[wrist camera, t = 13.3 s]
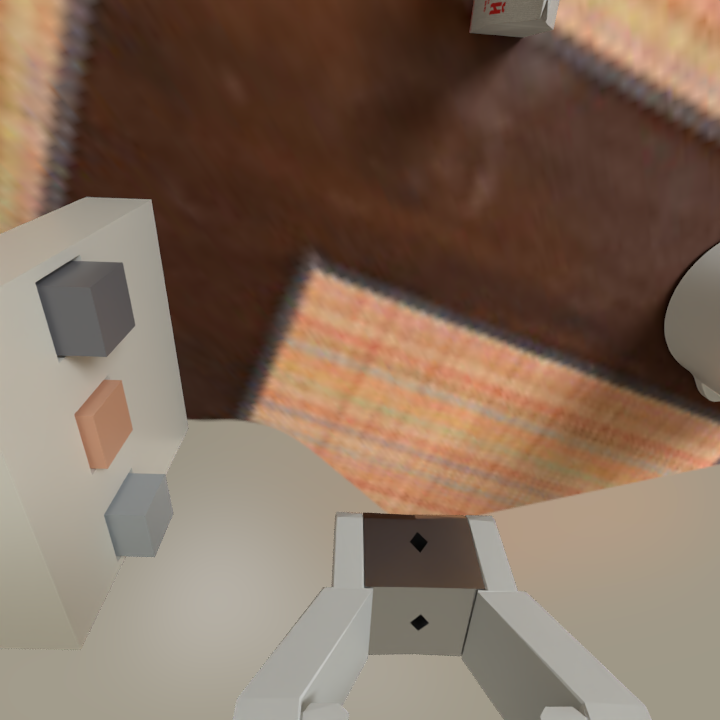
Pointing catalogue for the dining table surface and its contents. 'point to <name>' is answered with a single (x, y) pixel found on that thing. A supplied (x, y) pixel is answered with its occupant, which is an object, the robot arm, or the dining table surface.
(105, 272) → the charcoal button
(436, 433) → the dining table surface
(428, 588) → the robot arm
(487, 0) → the white carton box
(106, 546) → the control panel
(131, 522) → the slate grey button
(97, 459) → the terracotta button
